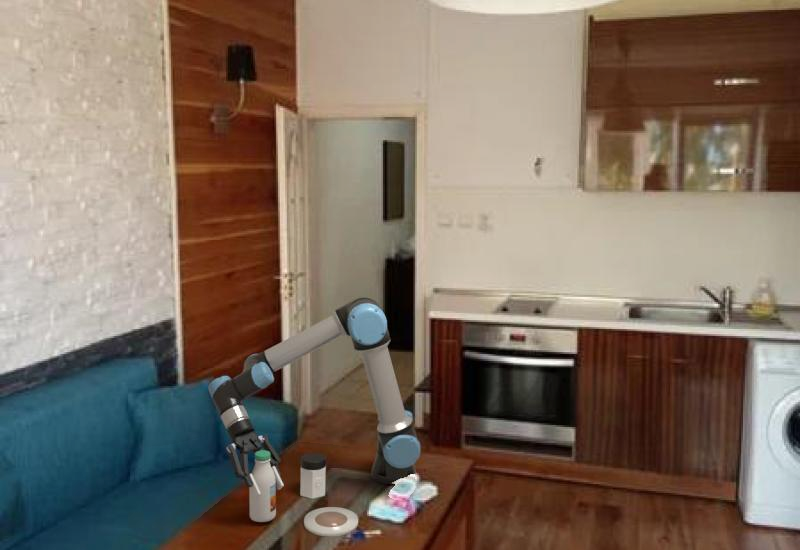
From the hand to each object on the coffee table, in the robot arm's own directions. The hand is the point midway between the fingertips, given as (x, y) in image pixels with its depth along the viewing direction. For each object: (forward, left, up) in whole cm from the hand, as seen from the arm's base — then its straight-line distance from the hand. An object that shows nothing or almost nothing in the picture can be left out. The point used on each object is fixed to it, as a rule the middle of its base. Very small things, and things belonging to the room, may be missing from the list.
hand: (269, 491), depth 223 cm
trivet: (-18, +1, -10) cm, 21 cm away
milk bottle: (+2, -3, -9) cm, 10 cm away
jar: (-14, -20, -10) cm, 26 cm away
